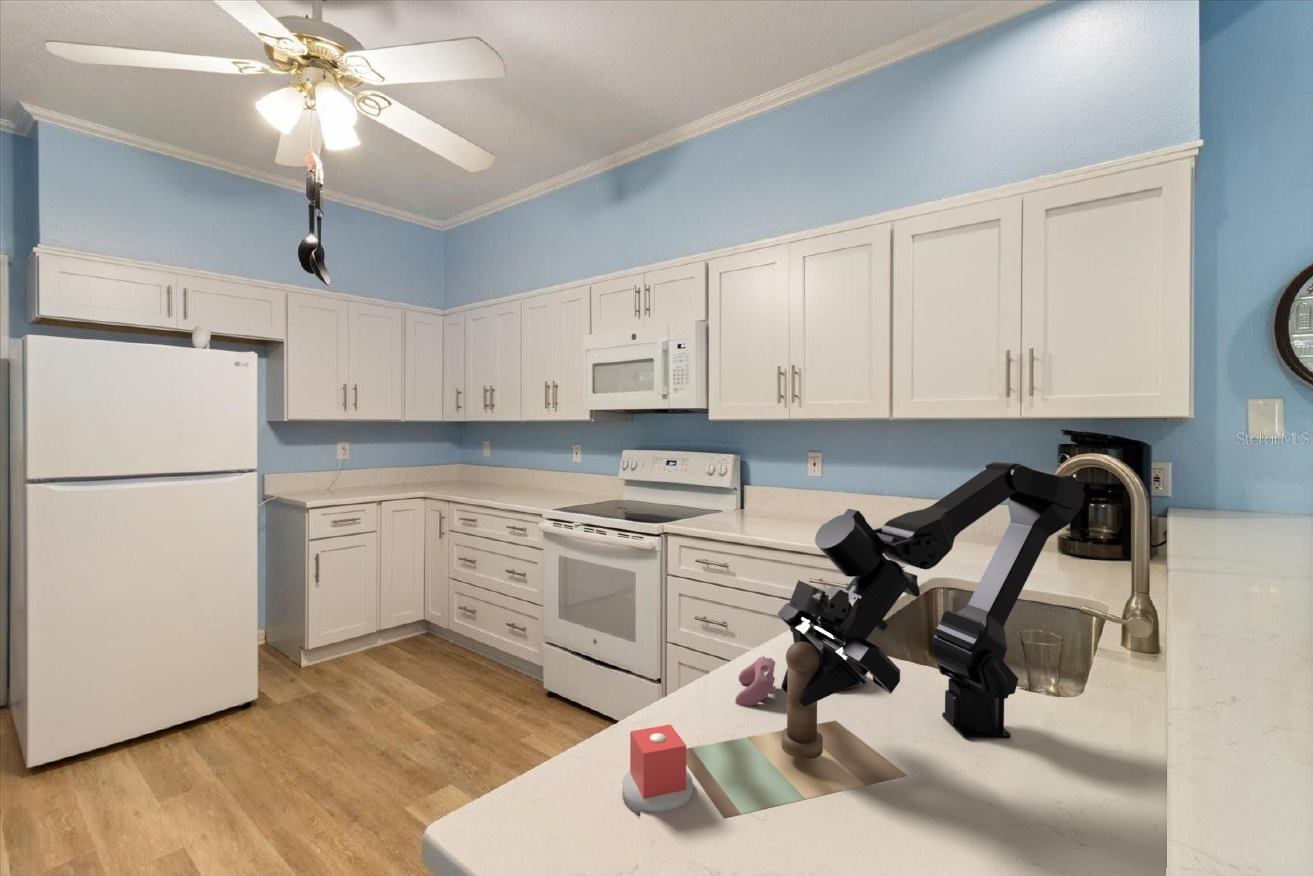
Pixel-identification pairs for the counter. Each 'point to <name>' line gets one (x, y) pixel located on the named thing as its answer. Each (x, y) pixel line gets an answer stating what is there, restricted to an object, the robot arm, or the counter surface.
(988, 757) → the counter surface
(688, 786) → the die stand
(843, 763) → the game track
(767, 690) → the video game controller
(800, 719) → the pawn
